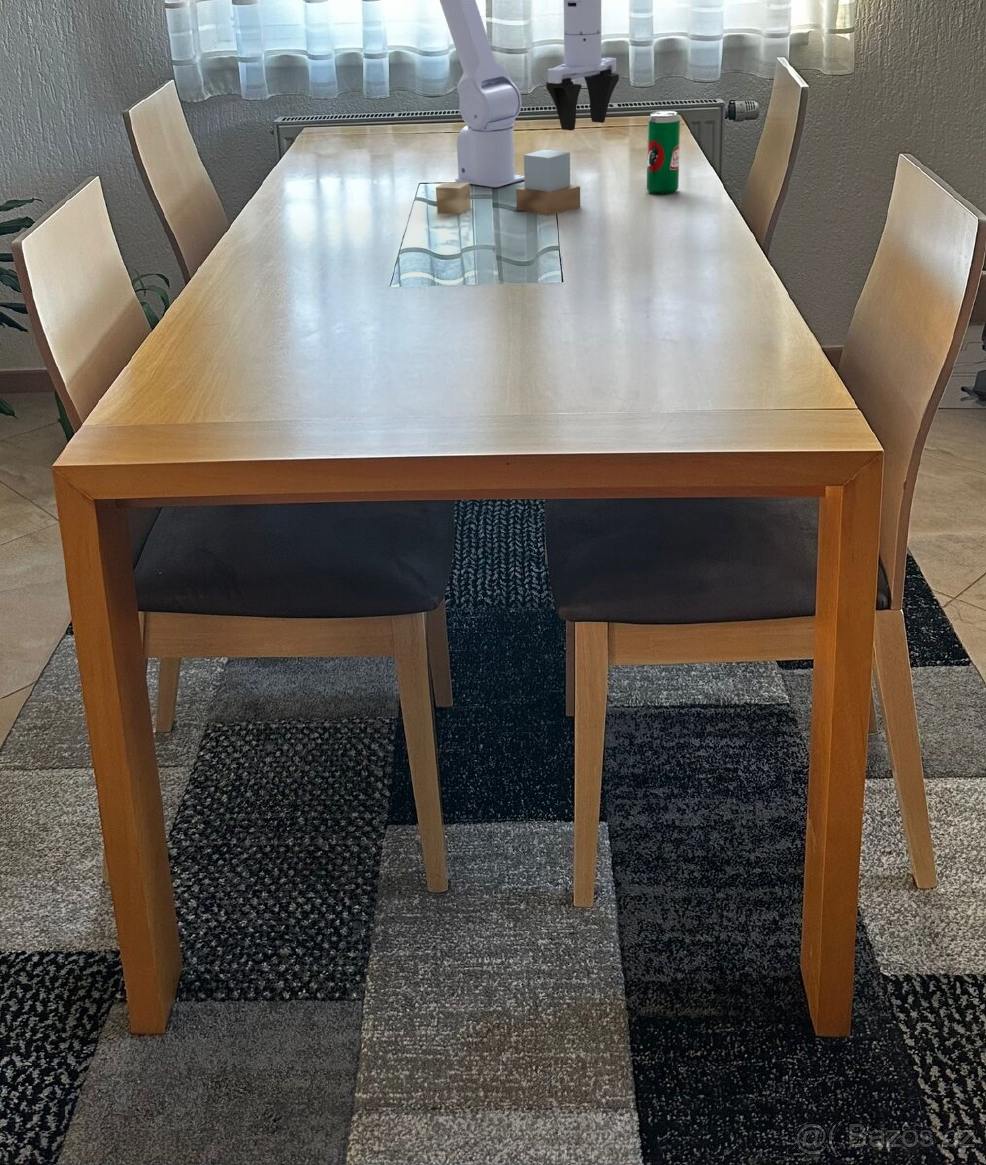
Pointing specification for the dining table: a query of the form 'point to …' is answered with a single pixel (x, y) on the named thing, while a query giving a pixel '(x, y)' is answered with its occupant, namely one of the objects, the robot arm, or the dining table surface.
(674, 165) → the soda can
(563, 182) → the light grey cube
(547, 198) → the walnut base
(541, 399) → the dining table surface
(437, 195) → the oak block
